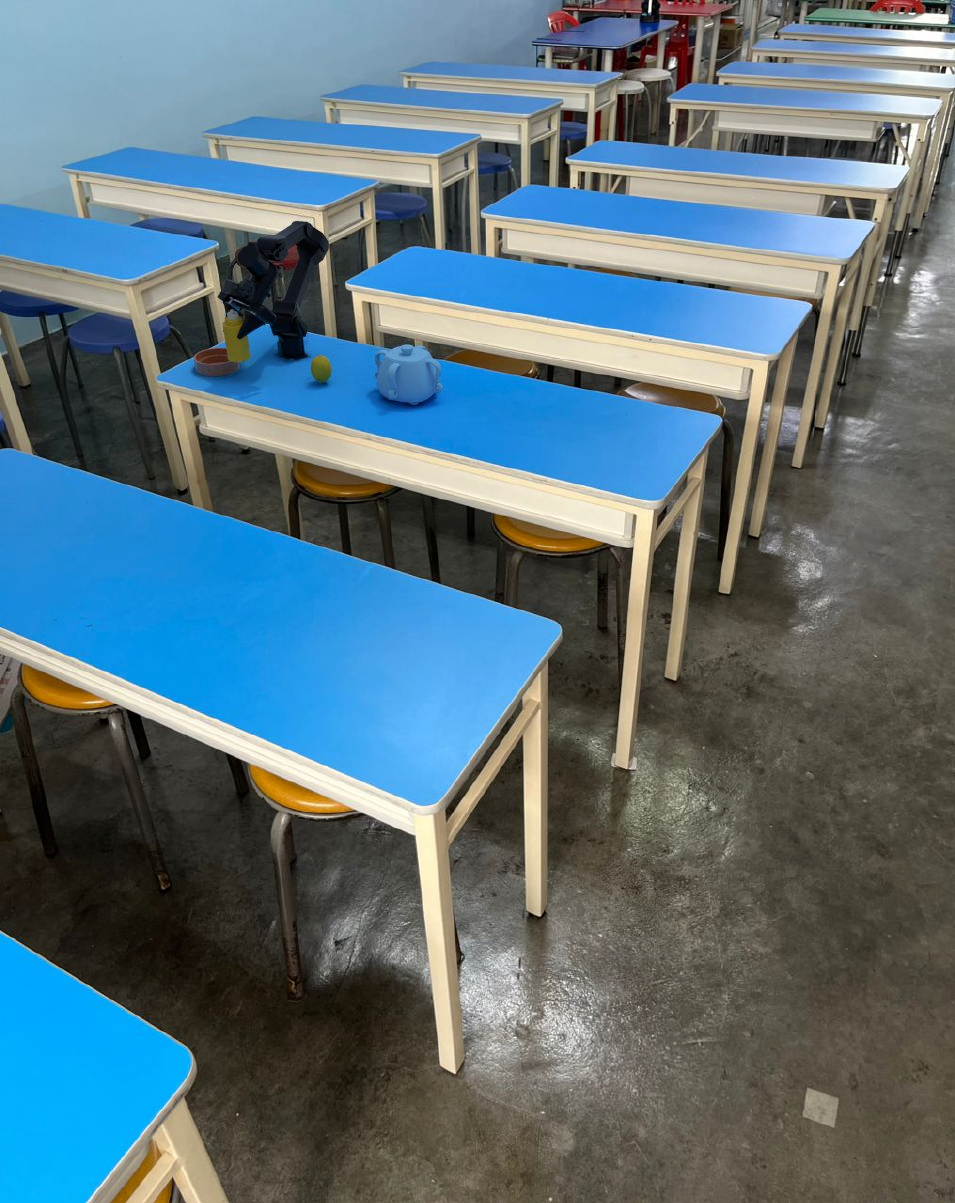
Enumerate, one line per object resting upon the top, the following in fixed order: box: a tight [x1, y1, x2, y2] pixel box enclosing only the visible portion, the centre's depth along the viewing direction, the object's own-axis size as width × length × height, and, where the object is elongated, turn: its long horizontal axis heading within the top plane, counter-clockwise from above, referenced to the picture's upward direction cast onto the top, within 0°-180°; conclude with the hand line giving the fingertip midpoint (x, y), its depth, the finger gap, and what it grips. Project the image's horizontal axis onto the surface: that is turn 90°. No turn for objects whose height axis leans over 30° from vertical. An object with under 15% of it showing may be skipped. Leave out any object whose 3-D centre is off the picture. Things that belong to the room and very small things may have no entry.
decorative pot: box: [374, 344, 444, 406], centre depth 244 cm, size 16×16×14 cm
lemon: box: [310, 354, 333, 384], centre depth 252 cm, size 6×6×8 cm
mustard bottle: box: [221, 309, 252, 363], centre depth 247 cm, size 6×6×13 cm
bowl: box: [193, 347, 241, 377], centre depth 260 cm, size 12×12×4 cm
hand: (231, 335), depth 247 cm, fingers closed on mustard bottle, 6 cm apart
